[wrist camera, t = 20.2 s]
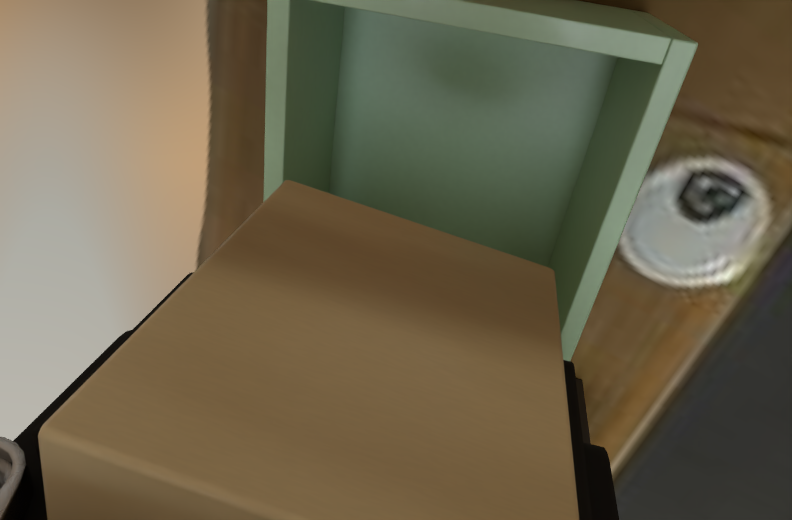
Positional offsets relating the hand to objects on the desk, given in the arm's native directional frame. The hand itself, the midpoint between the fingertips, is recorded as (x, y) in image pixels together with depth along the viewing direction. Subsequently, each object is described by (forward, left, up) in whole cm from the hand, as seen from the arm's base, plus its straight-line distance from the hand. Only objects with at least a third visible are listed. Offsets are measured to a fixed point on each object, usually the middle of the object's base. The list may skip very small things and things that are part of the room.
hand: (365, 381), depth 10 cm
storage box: (+2, 0, -19) cm, 19 cm away
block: (0, 0, -1) cm, 1 cm away
